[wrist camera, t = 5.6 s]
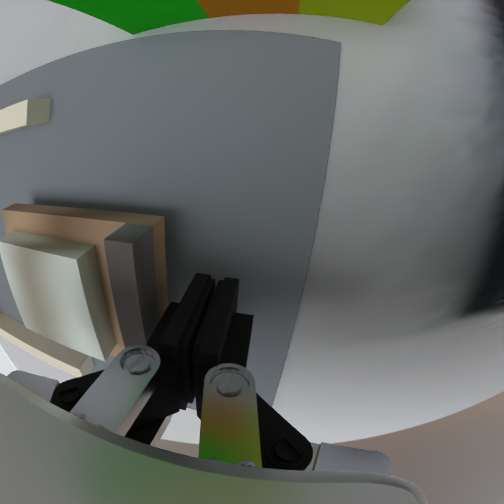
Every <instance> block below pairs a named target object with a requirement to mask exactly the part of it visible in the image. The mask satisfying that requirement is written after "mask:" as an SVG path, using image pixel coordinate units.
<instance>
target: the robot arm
mask: <svg viewBox="0 0 504 504" xmlns="http://www.w3.org/2000/svg"><path fill="white" fill-rule="evenodd" d="M215 284H216V281H215V279H211V275H209V274H203V273H196V274H195V275H194V277H193V279H192V281H191V283H190V284H189V286H188V288H187V290H186V292H185V294H184V295H183V297H182V299H181V301H180V303H177V302H170V304H169V305H168V307H167V309H166V310H165V312H164V314H163V315H162V317H161V319H160V321H159V322H158V324H157V326H156V328H155V329H154V331H153V333H152V335H151V337H150V338H149V340H148V342H147V344H146V346H145V345H133V346H129V347H127V348H125V349H123V350H122V351H121V352H120V353H119V354H118V355H117V356H116V357H115V358H114V359H113V361H112V362H111V363H110V364H109V365H108V366H107V368H106V369H103V370H100V371H97V372H94V373H91V374H87V375H84V376H81V377H77V378H74V379H71V380H67V381H65V382H62V383H61V384H60V383H59V382H58V380H54V379H50V378H46V377H42V376H38V375H34V374H31V373H27V372H24V371H18V370H17V371H13V372H11V373H10V374H9V375H8V376H5V375H3V374H1V373H0V504H428V503H427V500H426V498H425V496H424V494H423V492H422V491H421V490H420V488H419V487H418V486H416V485H415V484H413V483H411V482H409V481H407V480H404V479H402V478H398V477H394V476H391V471H392V467H391V461H390V460H389V458H388V457H387V456H386V455H385V454H383V453H381V452H378V451H372V450H364V449H357V448H350V447H344V446H338V445H333V444H328V443H323V442H321V444H315V443H311V442H309V441H308V440H307V439H306V437H304V436H303V435H302V434H301V433H300V432H299V431H297V430H296V429H295V428H294V427H293V426H292V425H291V424H289V423H288V422H287V421H286V420H285V419H284V418H283V417H282V416H281V415H280V414H278V413H277V412H276V411H275V410H274V409H273V408H272V407H271V406H270V405H269V404H268V403H267V402H266V401H265V400H264V399H263V398H261V397H260V396H259V395H258V394H257V393H256V385H255V380H254V376H253V375H252V374H251V372H250V371H249V370H247V369H246V366H247V360H248V353H249V347H250V340H251V333H252V326H253V318H254V315H251V314H244V313H237V303H238V291H239V279H237V278H230V277H225V278H224V280H219V281H218V283H217V286H216V289H215ZM194 399H196V409H197V416H198V417H199V419H200V420H201V428H200V443H199V458H195V457H191V456H187V455H183V454H179V453H175V452H171V451H167V450H163V449H160V448H156V445H157V444H158V442H159V440H160V438H161V437H162V435H163V433H164V431H165V429H166V428H167V426H168V424H169V422H170V420H171V417H172V414H174V413H177V412H179V410H180V409H182V410H186V407H187V404H188V403H191V404H192V403H193V402H194Z"/></svg>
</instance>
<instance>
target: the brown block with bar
mask: <svg viewBox="0 0 504 504" xmlns="http://www.w3.org/2000/svg"><path fill="white" fill-rule="evenodd" d="M2 215H3V220H4V226H5V231H6V235H5V236H4V237H2V238H0V255H1V259H2V262H3V266H4V269H5V273H6V276H7V279H8V282H9V285H10V288H11V291H12V294H13V297H14V299H15V302H16V305H17V307H18V310H19V312H20V315H21V317H22V320H23V322H24V324H25V327H26V328H28V329H30V330H32V331H34V332H36V333H38V334H40V335H42V336H44V337H46V338H48V339H50V340H53V341H55V342H57V343H59V344H62V345H64V346H66V347H69V348H71V349H73V350H76V351H78V352H81V353H83V354H86V355H89V356H91V357H94V358H97V359H99V360H102V361H106V360H107V358H108V356H109V355H112V356H115V357H116V356H117V355H118V354H119V353H120V352H121V351H122V350H123V349H125V348H127V347H129V346H133V345H145V346H146V344H147V342H148V340H149V338H150V337H151V335H152V333H153V331H154V329H155V328H156V326H157V324H158V322H159V321H160V319H161V317H162V315H163V314H164V312H165V310H166V309H167V307H168V305H169V302H168V289H167V273H166V253H165V216H157V215H147V214H137V213H127V212H117V211H106V210H95V209H84V208H72V207H60V206H46V205H32V204H17V203H15V204H13V205H11V206H9V207H6V208H4V209H2Z"/></svg>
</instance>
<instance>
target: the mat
mask: <svg viewBox="0 0 504 504" xmlns="http://www.w3.org/2000/svg"><path fill="white" fill-rule="evenodd" d="M340 49H341V43H340V42H335V41H330V40H325V39H320V38H314V37H308V36H301V35H294V34H286V33H276V32H263V31H243V30H212V31H192V32H180V33H170V34H162V35H154V36H148V37H142V38H136V39H131V40H126V41H121V42H116V43H112V44H108V45H104V46H100V47H96V48H93V49H89V50H86V51H82V52H79V53H76V54H73V55H70V56H67V57H64V58H61V59H58V60H56V61H53V62H50V63H48V64H45V65H43V66H40V67H38V68H36V69H33V70H31V71H29V72H27V73H24V74H22V75H20V76H18V77H16V78H14V79H12V80H10V81H8V82H6V83H4V84H2V85H1V86H0V238H2V237H4V236H5V235H6V231H5V226H4V220H3V215H2V209H4V208H6V207H9V206H11V205H13V204H15V203H17V204H32V205H46V206H60V207H72V208H84V209H95V210H106V211H117V212H127V213H137V214H147V215H157V216H165V253H166V273H167V289H168V302H169V304H170V302H177V303H180V301H181V299H182V297H183V295H184V294H185V292H186V290H187V288H188V286H189V284H190V283H191V281H192V279H193V277H194V275H195V274H196V273H203V274H209V275H211V279H215V281H216V284H215V289H216V286H217V283H218V281H219V280H224V278H225V277H230V278H237V279H239V291H238V303H237V313H244V314H251V315H254V318H253V326H252V333H251V340H250V347H249V353H248V360H247V366H246V369H247V370H249V371H250V372H251V374H252V375H253V376H254V380H255V385H256V393H257V394H258V395H259V396H260V397H261V398H263V399H264V400H265V401H266V402H267V403H268V404H269V405H270V406H271V407H272V404H273V400H274V397H275V394H276V390H277V387H278V384H279V380H280V377H281V373H282V370H283V366H284V362H285V359H286V355H287V351H288V348H289V344H290V340H291V336H292V332H293V328H294V324H295V320H296V316H297V312H298V308H299V304H300V300H301V296H302V291H303V287H304V283H305V278H306V274H307V269H308V264H309V260H310V255H311V250H312V245H313V240H314V235H315V230H316V225H317V220H318V214H319V209H320V203H321V198H322V192H323V186H324V180H325V174H326V168H327V161H328V155H329V148H330V141H331V134H332V126H333V118H334V110H335V102H336V93H337V83H338V73H339V61H340ZM0 336H2V337H3V338H5V339H6V340H8V341H10V342H11V343H13V344H14V345H16V346H18V347H19V348H21V349H23V350H25V351H26V352H28V353H30V354H32V355H33V356H35V357H37V358H39V359H41V360H43V361H45V362H46V363H48V364H50V365H52V366H54V367H56V368H58V369H60V370H62V371H65V372H67V373H69V374H71V375H73V376H75V377H81V376H84V375H87V374H91V373H94V372H97V371H100V370H103V369H106V368H107V366H108V365H109V364H110V363H111V362H112V361H113V359H114V358H115V356H112V355H109V356H108V358H107V360H106V361H102V360H99V359H97V358H94V357H91V356H89V355H86V354H83V353H81V352H78V351H76V350H73V349H71V348H69V347H66V346H64V345H62V344H59V343H57V342H55V341H53V340H50V339H48V338H46V337H44V336H42V335H40V334H38V333H36V332H34V331H32V330H30V329H28V328H26V327H25V324H24V322H23V320H22V317H21V315H20V312H19V310H18V307H17V305H16V302H15V299H14V297H13V294H12V291H11V288H10V285H9V282H8V279H7V276H6V273H5V269H4V266H3V262H2V259H1V255H0ZM186 408H190V409H195V410H197V409H196V399H194V402H193V403H192V404H191V403H188V404H187V407H186Z"/></svg>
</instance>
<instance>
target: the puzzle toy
mask: <svg viewBox="0 0 504 504" xmlns="http://www.w3.org/2000/svg"><path fill="white" fill-rule="evenodd" d="M48 1H52V2H55V3H58V4H61V5H64V6H67V7H70V8H73V9H75V10H78V11H81V12H83V13H86V14H88V15H91V16H93V17H96V18H98V19H101V20H103V21H105V22H107V23H110V24H112V25H114V26H116V27H118V28H121V29H123V30H125V31H127V32H129V33H131V34H137V33H140V32H144V31H147V30H151V29H155V28H159V27H163V26H167V25H172V24H177V23H182V22H187V21H193V20H199V19H205V18H213V17H221V16H231V15H244V14H268V13H284V14H308V15H321V16H331V17H339V18H346V19H353V20H359V21H364V22H370V23H375V24H379V25H383V24H385V23H386V22H387V21H388V20H389V19H390V18H391V17H392V16H393V15H394V14H395V13H396V12H398V11H399V10H400V9H401V8H402V7H403V6H404V5H405V4H406V3H408V2H409V1H410V0H48Z"/></svg>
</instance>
